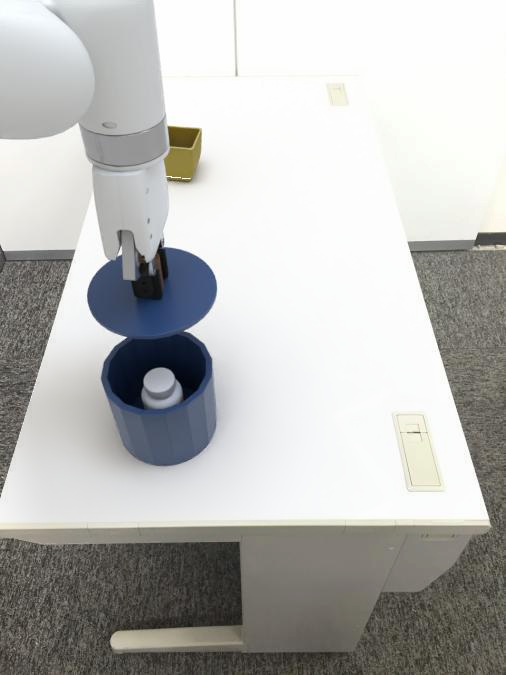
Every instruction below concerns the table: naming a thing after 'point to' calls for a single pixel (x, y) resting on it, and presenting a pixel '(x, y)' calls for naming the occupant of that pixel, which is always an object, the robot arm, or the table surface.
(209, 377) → the tin
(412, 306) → the table surface
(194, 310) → the tin lid
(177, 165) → the flower pot
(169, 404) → the supplement bottle
